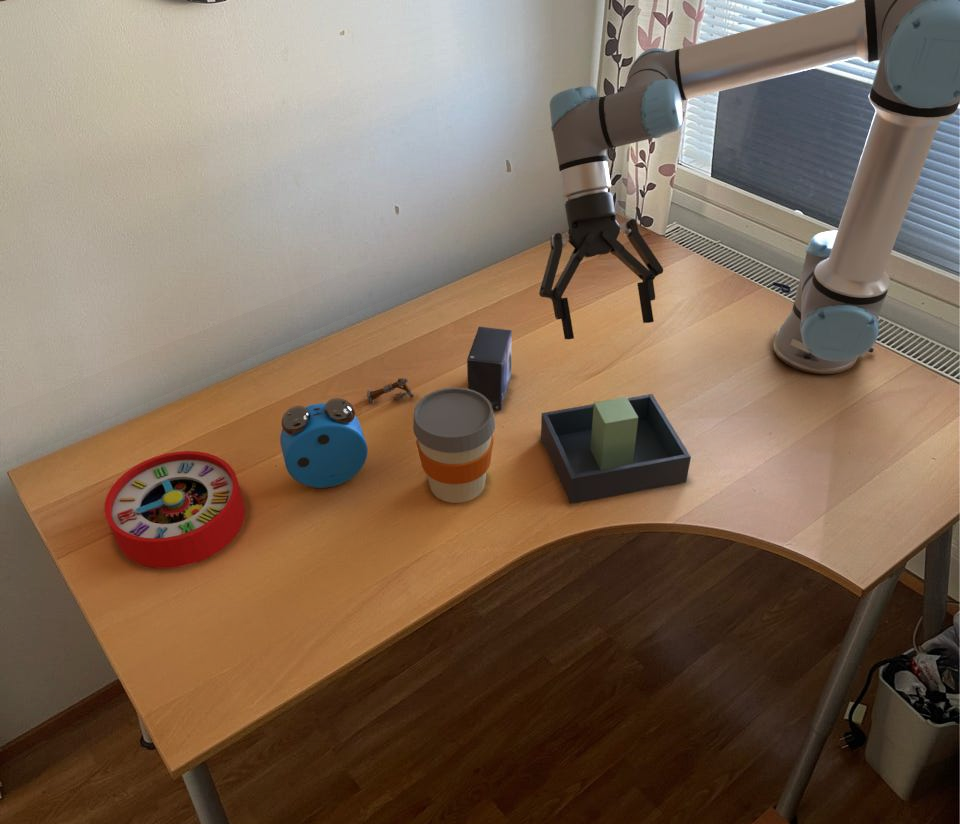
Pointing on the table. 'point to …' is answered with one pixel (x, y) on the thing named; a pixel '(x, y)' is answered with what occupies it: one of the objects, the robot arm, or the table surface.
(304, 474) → the alarm clock
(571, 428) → the bin
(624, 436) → the block
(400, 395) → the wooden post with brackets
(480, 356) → the small box
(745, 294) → the table surface
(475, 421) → the reusable coffee cup
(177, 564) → the toy clock
